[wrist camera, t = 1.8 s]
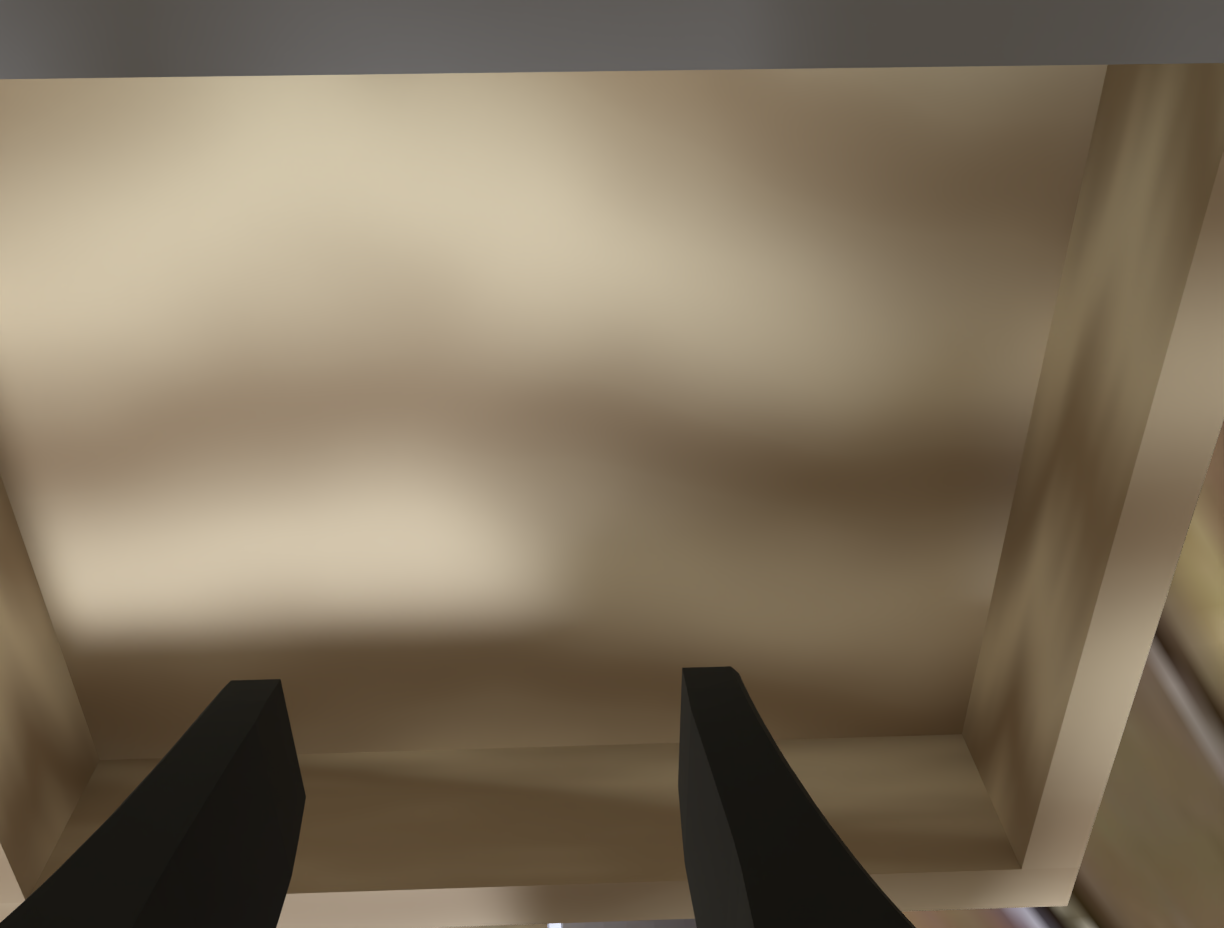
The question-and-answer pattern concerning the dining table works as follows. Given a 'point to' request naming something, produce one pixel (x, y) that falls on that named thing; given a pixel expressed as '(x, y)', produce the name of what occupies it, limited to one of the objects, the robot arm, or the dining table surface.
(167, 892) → the robot arm
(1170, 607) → the dining table surface
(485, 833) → the cart bed
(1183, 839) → the dining table surface
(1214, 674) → the dining table surface
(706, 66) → the panel
